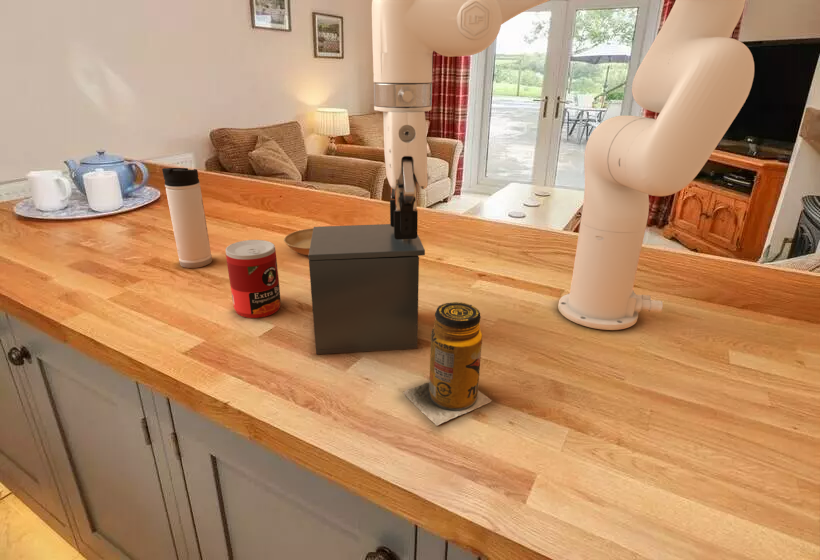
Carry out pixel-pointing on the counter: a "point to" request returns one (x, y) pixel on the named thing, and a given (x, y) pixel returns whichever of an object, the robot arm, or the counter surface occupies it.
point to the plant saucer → (300, 241)
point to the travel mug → (187, 216)
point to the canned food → (253, 278)
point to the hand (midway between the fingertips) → (403, 230)
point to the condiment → (452, 365)
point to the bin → (365, 304)
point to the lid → (360, 243)
